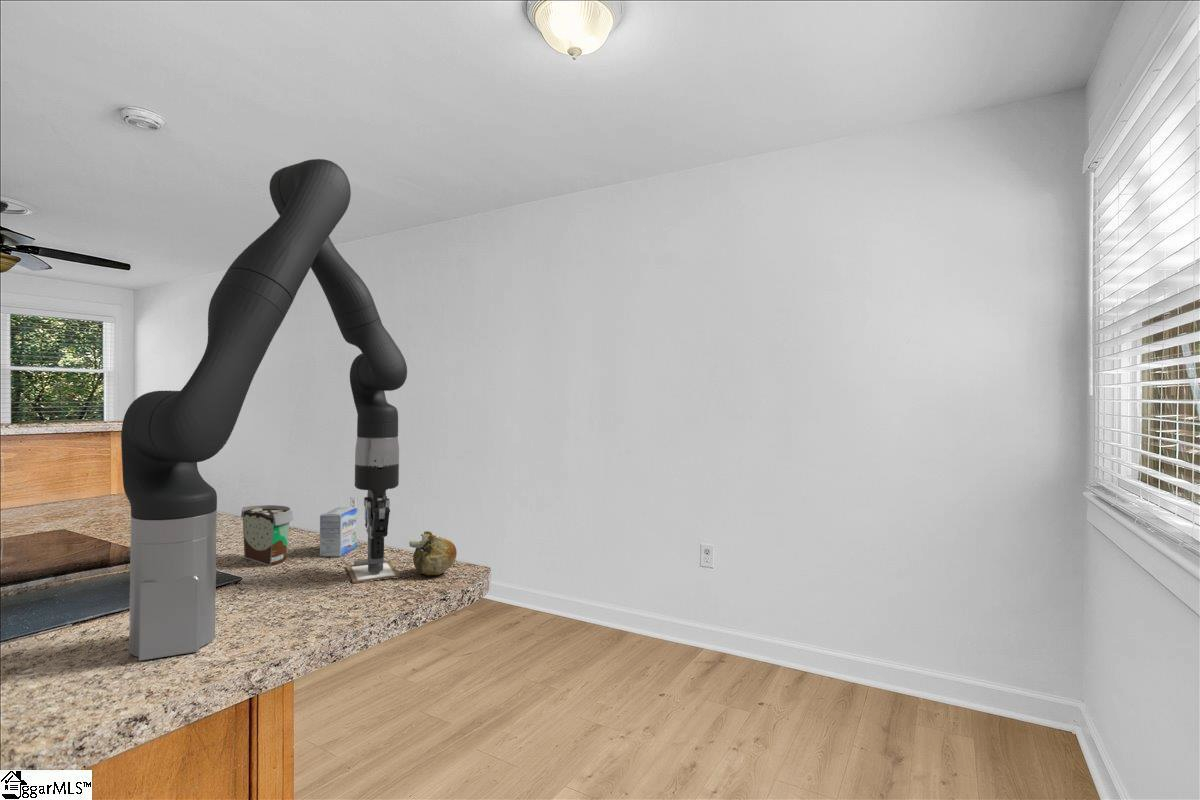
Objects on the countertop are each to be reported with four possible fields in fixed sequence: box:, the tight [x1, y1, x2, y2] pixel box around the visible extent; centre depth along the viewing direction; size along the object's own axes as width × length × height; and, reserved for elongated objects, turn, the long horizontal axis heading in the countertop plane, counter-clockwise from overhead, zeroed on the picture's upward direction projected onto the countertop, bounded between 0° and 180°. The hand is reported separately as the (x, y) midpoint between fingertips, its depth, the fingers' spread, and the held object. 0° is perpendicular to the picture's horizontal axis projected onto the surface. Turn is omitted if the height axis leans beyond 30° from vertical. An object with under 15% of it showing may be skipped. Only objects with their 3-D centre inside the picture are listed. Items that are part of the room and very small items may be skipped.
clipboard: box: [345, 558, 402, 584], centre depth 112 cm, size 11×8×1 cm
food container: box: [240, 504, 294, 567], centre depth 119 cm, size 12×6×10 cm, turn 58°
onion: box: [408, 530, 457, 576], centre depth 112 cm, size 8×8×8 cm
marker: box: [367, 519, 385, 572], centre depth 110 cm, size 3×3×12 cm
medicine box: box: [319, 506, 358, 558], centre depth 125 cm, size 8×4×9 cm, turn 179°
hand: (375, 555), depth 110 cm, fingers closed on marker, 2 cm apart
